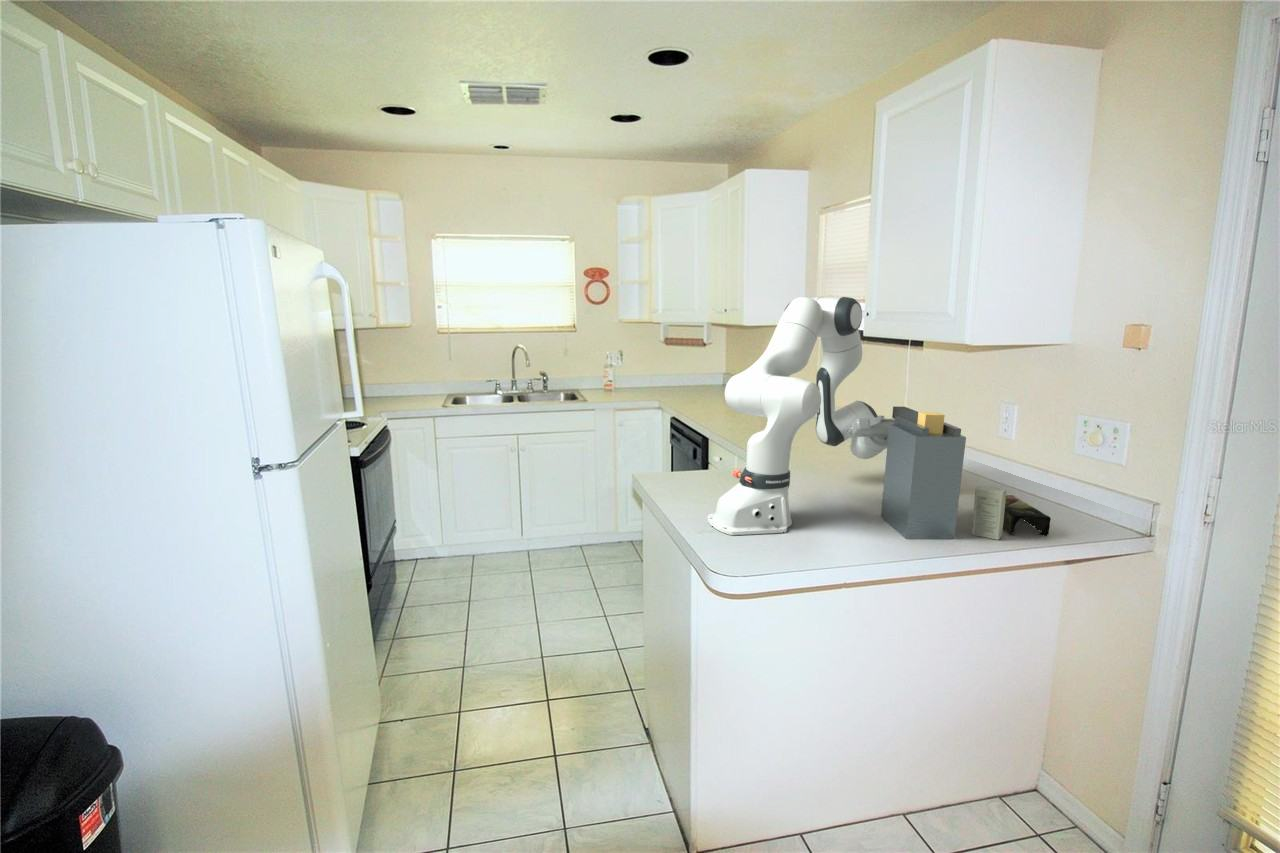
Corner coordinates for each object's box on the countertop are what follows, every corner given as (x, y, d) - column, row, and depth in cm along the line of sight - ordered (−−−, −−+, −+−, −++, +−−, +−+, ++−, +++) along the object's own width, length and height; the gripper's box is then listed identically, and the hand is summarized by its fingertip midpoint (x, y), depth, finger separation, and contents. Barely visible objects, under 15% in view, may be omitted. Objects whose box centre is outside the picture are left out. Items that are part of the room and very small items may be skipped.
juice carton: (973, 510, 174) (976, 490, 173) (1009, 512, 173) (1012, 491, 172) (1009, 537, 154) (1012, 514, 153) (1049, 539, 154) (1053, 516, 152)
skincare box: (1002, 536, 154) (1008, 489, 152) (998, 540, 151) (1004, 493, 148) (974, 529, 158) (979, 484, 156) (969, 534, 155) (975, 488, 153)
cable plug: (889, 417, 171) (891, 401, 170) (906, 417, 171) (907, 401, 170) (923, 433, 150) (925, 414, 149) (942, 433, 150) (944, 415, 150)
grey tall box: (880, 516, 167) (890, 416, 162) (924, 517, 167) (935, 416, 162) (905, 538, 152) (917, 428, 146) (954, 539, 152) (967, 428, 146)
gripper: (844, 423, 184) (860, 407, 171) (912, 424, 184) (933, 408, 171) (846, 443, 182) (862, 428, 169) (914, 444, 182) (936, 429, 169)
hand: (898, 418), depth 170 cm, fingers open, 8 cm apart
